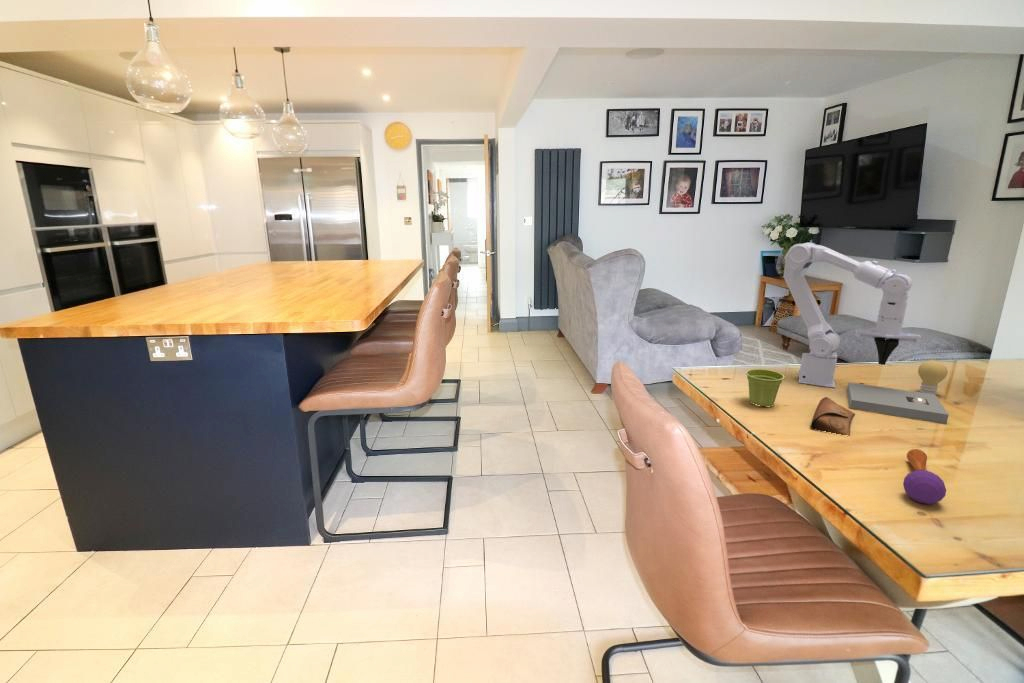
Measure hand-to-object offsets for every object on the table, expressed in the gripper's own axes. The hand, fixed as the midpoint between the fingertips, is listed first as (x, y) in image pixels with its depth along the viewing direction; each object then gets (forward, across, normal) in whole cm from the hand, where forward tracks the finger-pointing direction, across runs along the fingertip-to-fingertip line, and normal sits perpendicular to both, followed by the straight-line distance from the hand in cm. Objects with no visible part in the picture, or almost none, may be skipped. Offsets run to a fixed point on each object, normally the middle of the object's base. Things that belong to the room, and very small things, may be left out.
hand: (881, 363), depth 138 cm
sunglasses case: (+10, -11, -28) cm, 32 cm away
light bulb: (+10, +13, +8) cm, 18 cm away
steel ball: (+8, +8, -8) cm, 14 cm away
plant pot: (+10, -28, -24) cm, 38 cm away
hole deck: (+9, +3, -8) cm, 13 cm away
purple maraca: (+10, +2, -54) cm, 55 cm away
